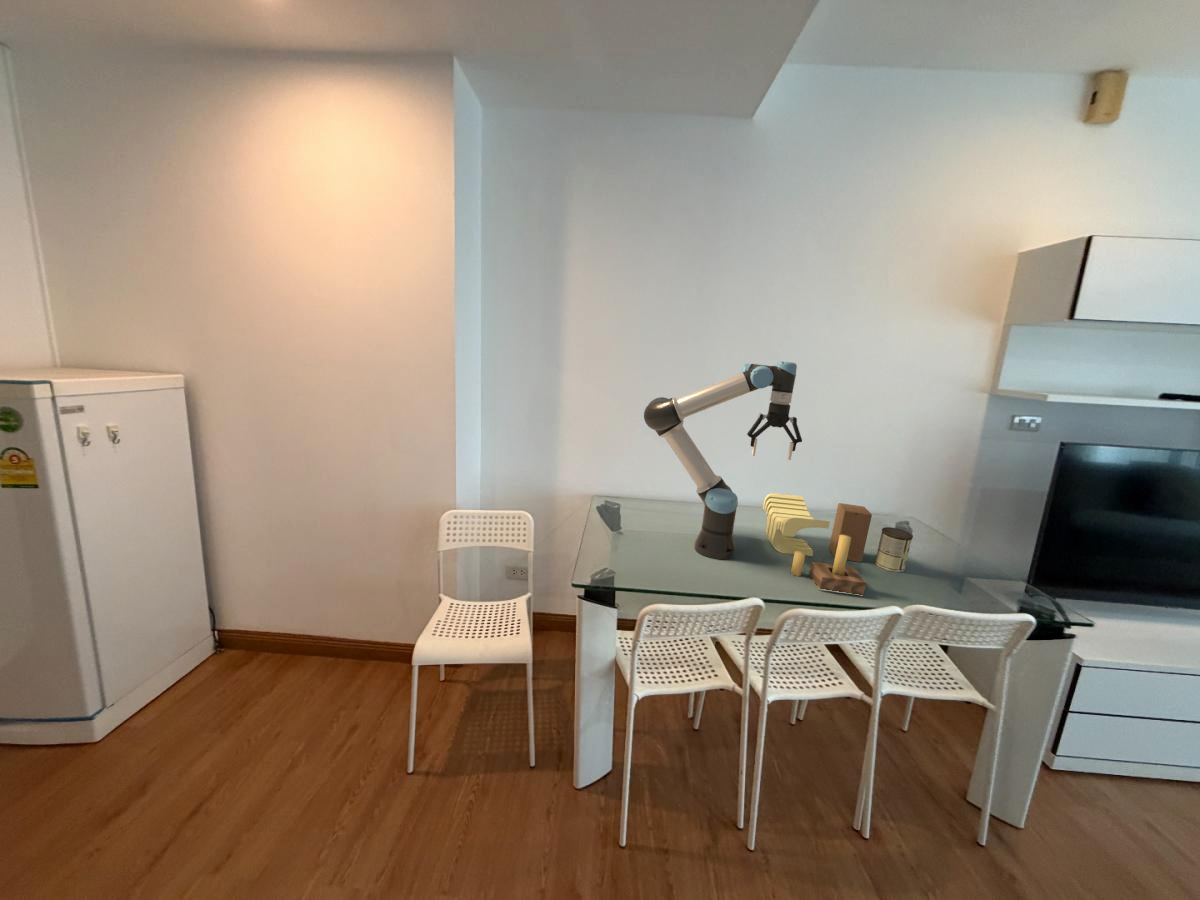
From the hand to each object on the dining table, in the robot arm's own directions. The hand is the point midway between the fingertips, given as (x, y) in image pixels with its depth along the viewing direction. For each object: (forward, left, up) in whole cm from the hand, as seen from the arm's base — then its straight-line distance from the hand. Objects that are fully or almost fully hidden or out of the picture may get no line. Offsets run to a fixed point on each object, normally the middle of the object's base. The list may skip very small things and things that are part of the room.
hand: (770, 457), depth 194 cm
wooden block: (+35, +1, -37) cm, 51 cm away
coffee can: (+50, -4, -37) cm, 62 cm away
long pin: (+22, -28, -37) cm, 51 cm away
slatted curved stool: (+13, +2, -37) cm, 39 cm away
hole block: (+22, -28, -37) cm, 51 cm away
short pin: (+10, -23, -37) cm, 44 cm away
